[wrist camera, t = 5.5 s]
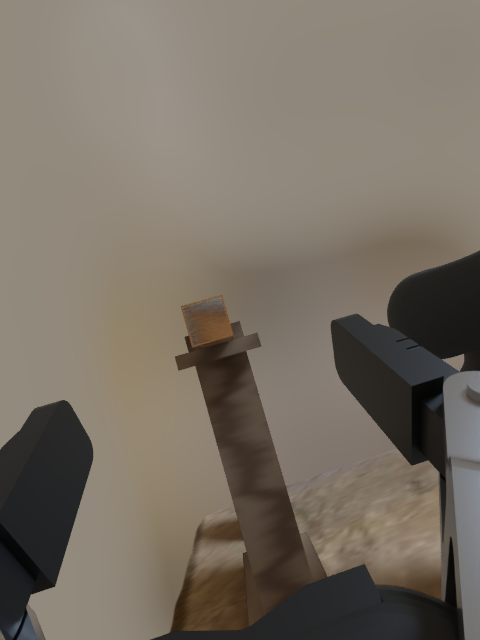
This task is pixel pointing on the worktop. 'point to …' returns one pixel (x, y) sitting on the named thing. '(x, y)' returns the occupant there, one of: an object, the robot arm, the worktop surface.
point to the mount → (253, 475)
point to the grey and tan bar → (207, 322)
